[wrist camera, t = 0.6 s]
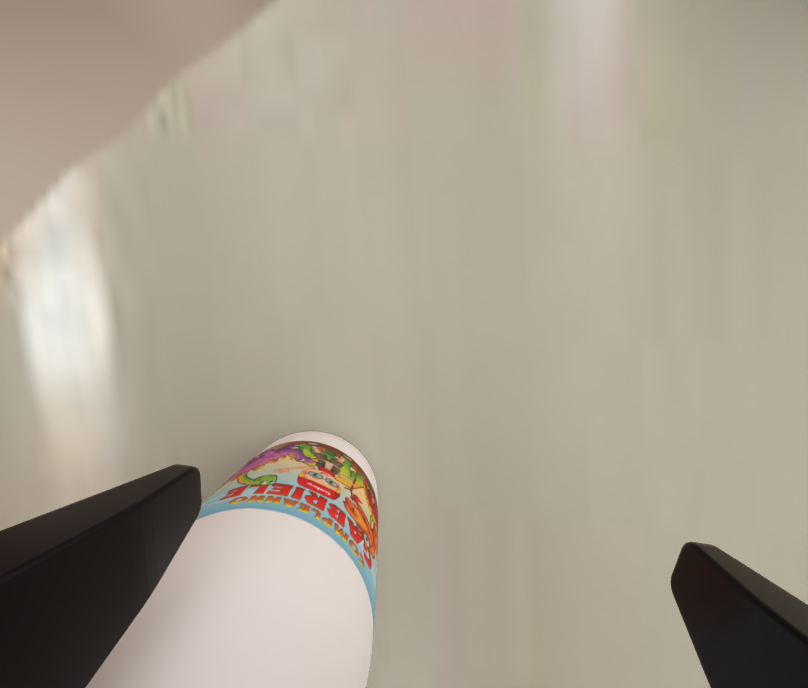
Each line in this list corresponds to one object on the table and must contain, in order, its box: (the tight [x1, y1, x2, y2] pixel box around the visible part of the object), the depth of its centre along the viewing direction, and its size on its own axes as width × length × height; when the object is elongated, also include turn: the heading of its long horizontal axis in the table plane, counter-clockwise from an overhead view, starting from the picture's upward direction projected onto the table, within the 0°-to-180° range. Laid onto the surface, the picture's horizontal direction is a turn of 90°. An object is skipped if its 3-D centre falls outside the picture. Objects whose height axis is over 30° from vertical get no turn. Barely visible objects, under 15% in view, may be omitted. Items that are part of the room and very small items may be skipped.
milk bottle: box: [86, 431, 378, 688], centre depth 12 cm, size 8×8×20 cm
